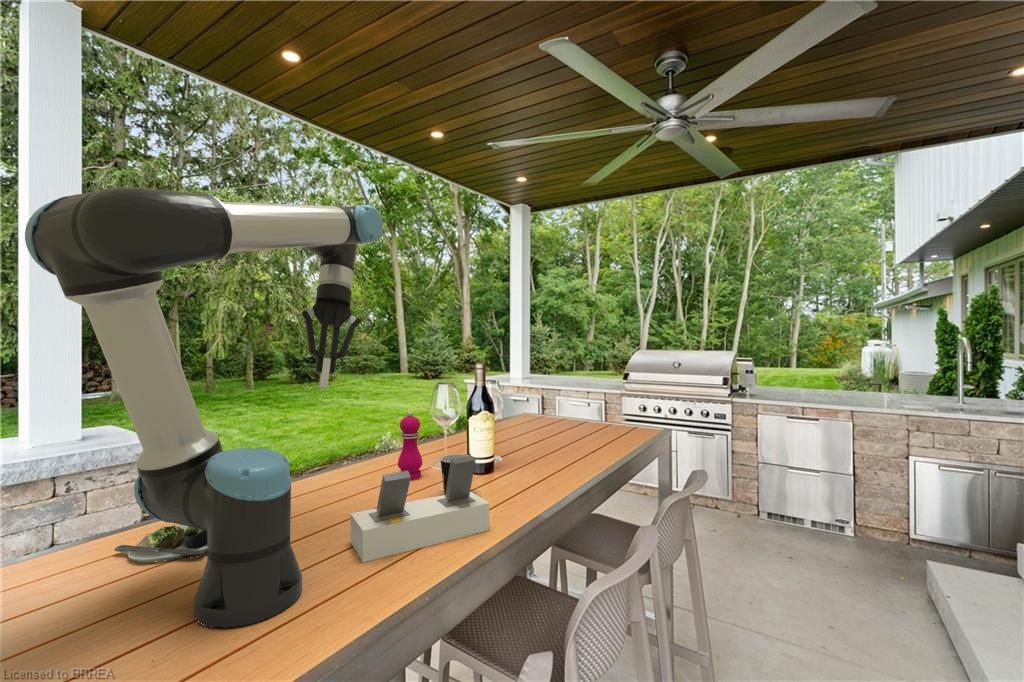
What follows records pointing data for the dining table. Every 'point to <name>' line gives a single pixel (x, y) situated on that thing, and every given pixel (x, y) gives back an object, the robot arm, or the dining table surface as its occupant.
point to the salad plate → (168, 544)
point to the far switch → (460, 478)
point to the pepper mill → (410, 446)
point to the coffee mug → (448, 467)
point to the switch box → (417, 525)
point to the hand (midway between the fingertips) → (323, 387)
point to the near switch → (393, 493)
